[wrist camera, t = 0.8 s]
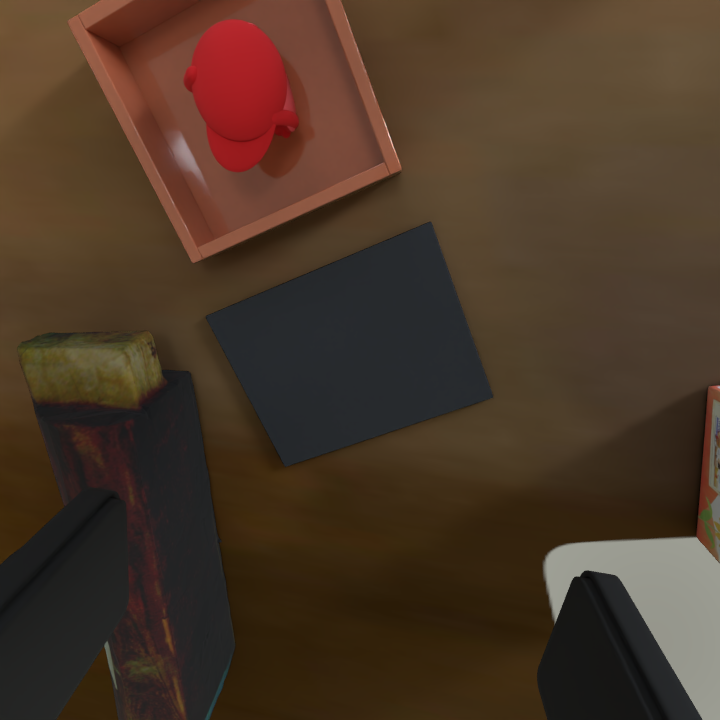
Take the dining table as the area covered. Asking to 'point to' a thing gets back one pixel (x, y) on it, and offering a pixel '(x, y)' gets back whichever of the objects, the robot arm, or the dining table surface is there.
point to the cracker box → (711, 477)
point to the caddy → (188, 129)
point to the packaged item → (142, 510)
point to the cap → (240, 92)
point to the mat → (354, 348)
